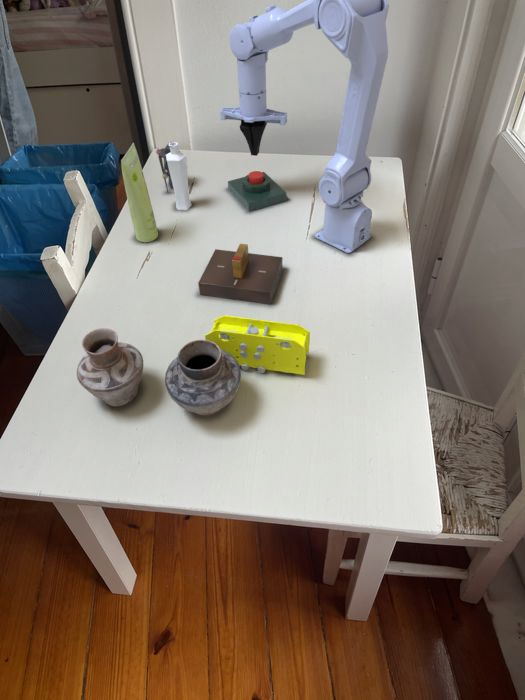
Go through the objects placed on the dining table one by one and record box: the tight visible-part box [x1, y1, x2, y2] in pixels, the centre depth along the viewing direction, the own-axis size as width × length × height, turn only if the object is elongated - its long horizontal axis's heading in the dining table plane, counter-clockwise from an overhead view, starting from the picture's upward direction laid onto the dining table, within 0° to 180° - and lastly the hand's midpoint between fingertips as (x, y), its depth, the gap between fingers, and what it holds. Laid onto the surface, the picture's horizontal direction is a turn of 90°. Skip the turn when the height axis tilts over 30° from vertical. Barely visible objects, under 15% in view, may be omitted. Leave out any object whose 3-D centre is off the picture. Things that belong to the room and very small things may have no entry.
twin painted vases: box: [76, 327, 242, 416], centre depth 72 cm, size 11×25×12 cm, turn 82°
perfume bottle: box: [166, 141, 192, 211], centre depth 111 cm, size 5×4×15 cm
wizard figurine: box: [155, 141, 181, 193], centre depth 118 cm, size 8×6×12 cm
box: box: [227, 171, 287, 213], centre depth 117 cm, size 12×10×4 cm
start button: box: [247, 170, 264, 184], centre depth 115 cm, size 4×4×2 cm
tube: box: [120, 142, 159, 243], centre depth 100 cm, size 6×5×20 cm
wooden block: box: [232, 243, 249, 278], centre depth 92 cm, size 6×2×4 cm, turn 166°
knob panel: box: [197, 248, 283, 305], centre depth 95 cm, size 14×11×3 cm
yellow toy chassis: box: [204, 314, 311, 376], centre depth 78 cm, size 16×6×8 cm, turn 78°
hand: (255, 153), depth 111 cm, fingers closed
